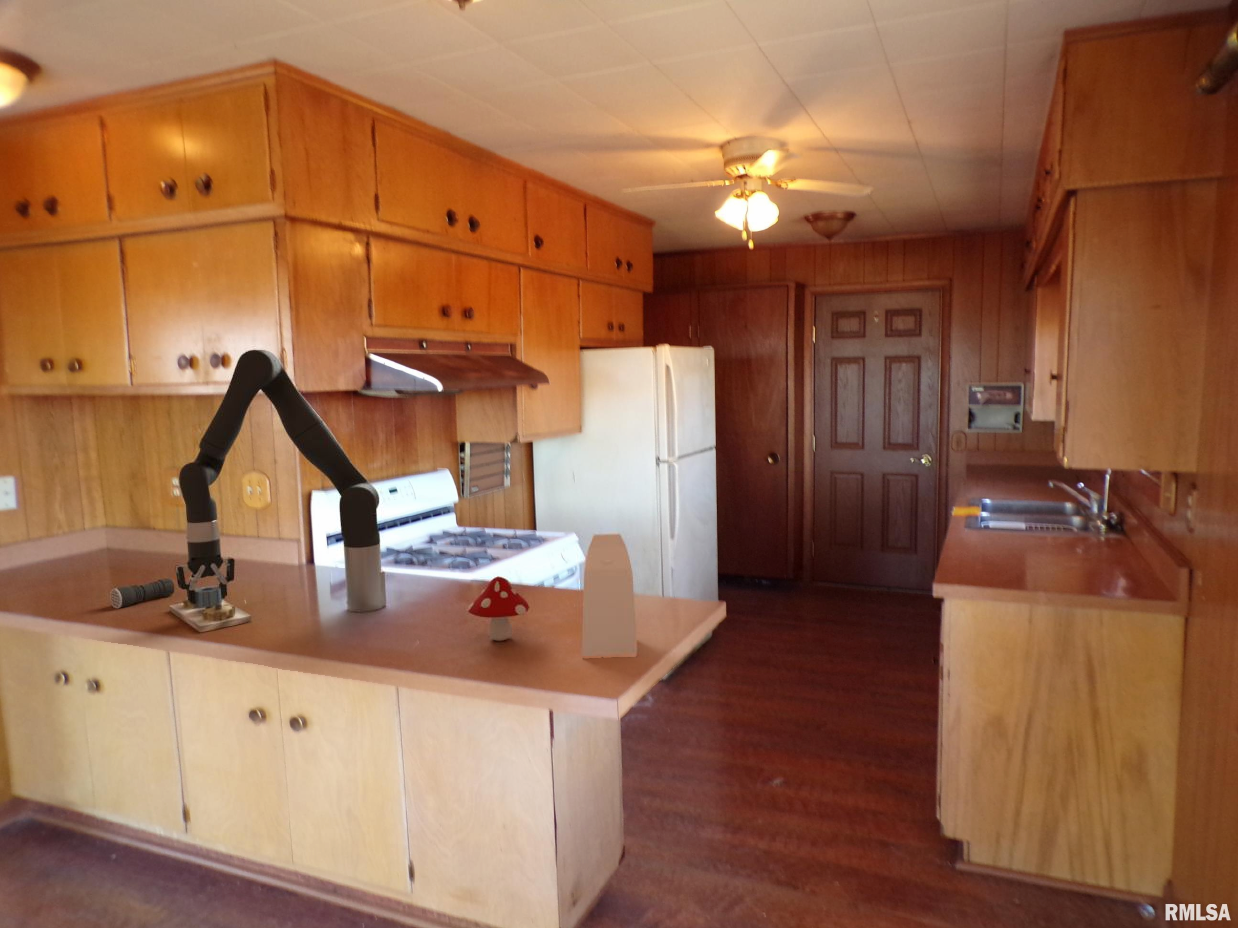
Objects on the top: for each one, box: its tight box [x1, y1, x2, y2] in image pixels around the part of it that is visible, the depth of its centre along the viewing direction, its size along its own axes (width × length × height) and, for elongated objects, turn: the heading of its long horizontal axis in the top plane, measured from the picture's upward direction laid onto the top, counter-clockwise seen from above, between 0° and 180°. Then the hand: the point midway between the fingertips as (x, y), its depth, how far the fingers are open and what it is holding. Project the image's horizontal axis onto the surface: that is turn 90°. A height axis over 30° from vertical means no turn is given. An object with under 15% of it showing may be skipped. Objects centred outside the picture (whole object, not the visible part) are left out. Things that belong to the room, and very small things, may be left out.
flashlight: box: [109, 578, 175, 609], centre depth 228 cm, size 15×5×5 cm, turn 148°
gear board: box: [169, 596, 252, 633], centre depth 213 cm, size 12×26×5 cm, turn 43°
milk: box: [581, 533, 638, 657], centre depth 181 cm, size 12×12×26 cm
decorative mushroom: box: [467, 576, 530, 642], centre depth 189 cm, size 14×14×15 cm
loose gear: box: [194, 585, 223, 608], centre depth 212 cm, size 7×7×4 cm
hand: (208, 600), depth 212 cm, fingers closed on loose gear, 6 cm apart
